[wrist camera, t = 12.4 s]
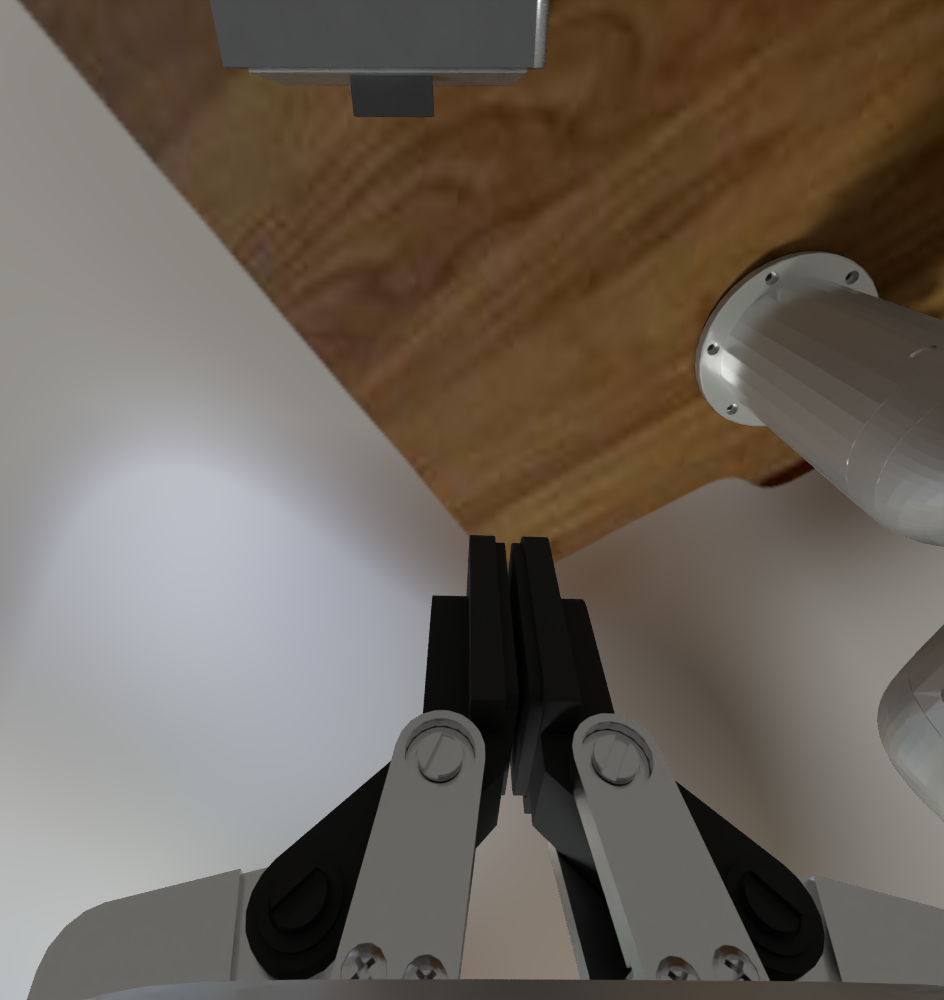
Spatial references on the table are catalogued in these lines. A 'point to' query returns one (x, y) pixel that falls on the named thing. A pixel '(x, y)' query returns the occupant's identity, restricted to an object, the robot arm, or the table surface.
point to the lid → (382, 34)
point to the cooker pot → (392, 86)
